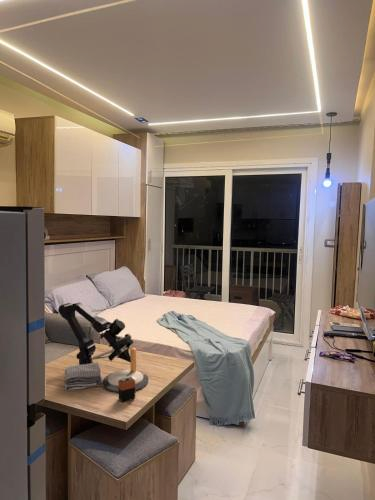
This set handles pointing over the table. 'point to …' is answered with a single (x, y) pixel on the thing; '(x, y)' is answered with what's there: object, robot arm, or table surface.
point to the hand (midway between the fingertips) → (131, 362)
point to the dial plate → (116, 389)
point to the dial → (127, 372)
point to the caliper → (103, 354)
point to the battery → (126, 389)
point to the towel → (83, 376)
